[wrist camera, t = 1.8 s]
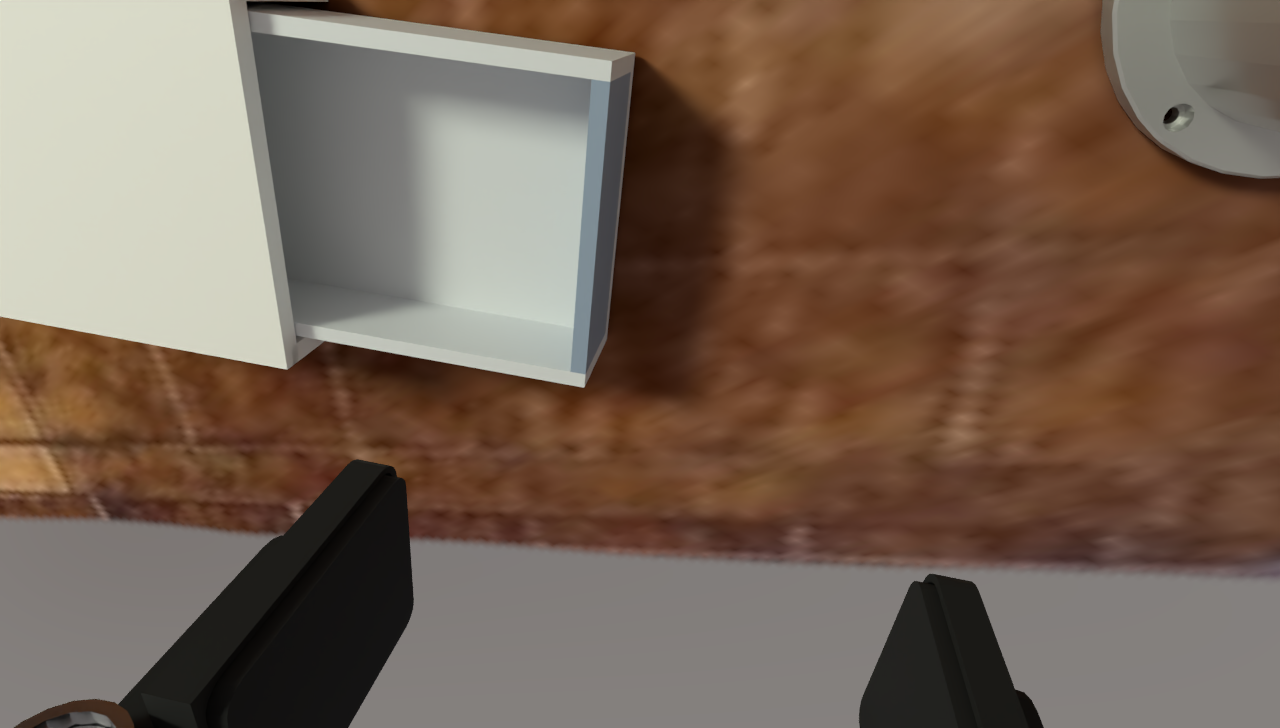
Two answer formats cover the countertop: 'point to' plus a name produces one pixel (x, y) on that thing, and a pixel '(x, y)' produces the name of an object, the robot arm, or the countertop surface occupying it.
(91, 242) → the sleeve
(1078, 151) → the countertop surface
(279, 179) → the white sliding drawer box
